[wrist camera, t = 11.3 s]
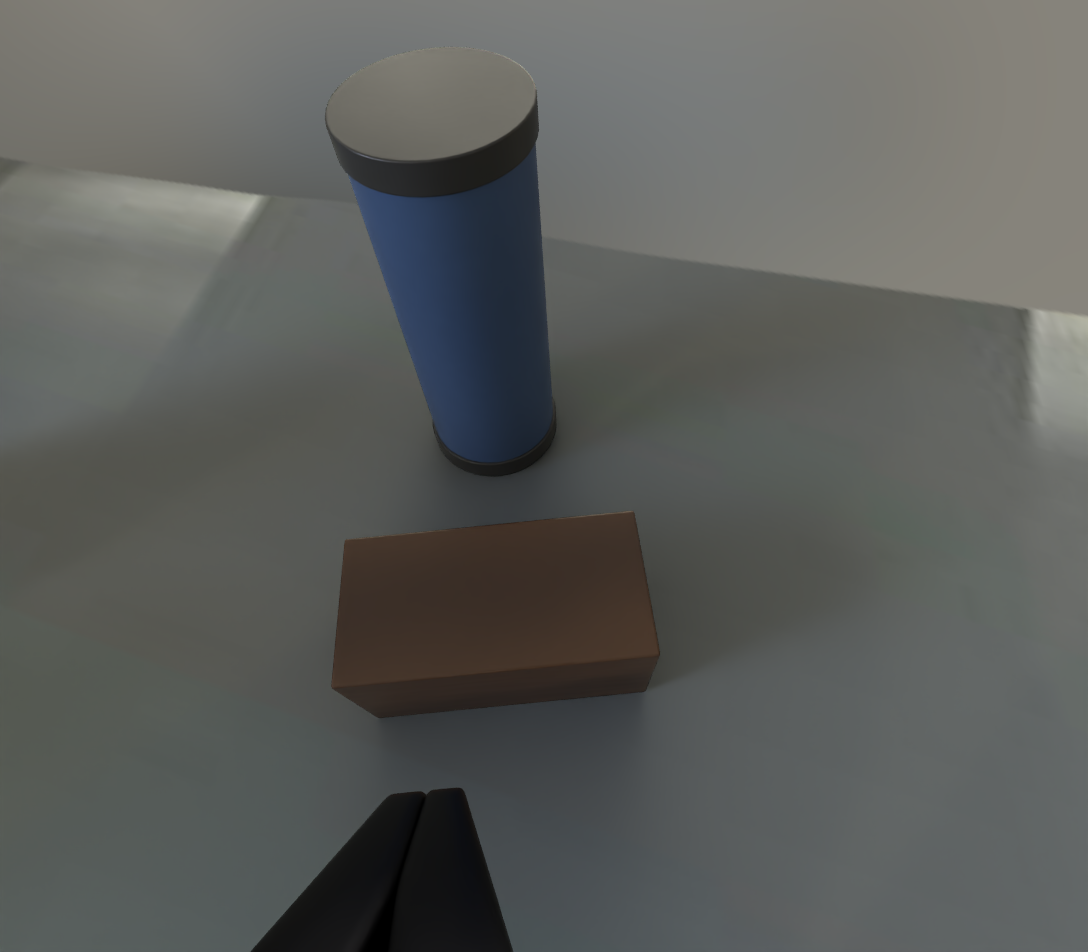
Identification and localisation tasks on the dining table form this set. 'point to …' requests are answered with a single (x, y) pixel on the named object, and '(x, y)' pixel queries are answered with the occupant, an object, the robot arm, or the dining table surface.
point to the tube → (458, 240)
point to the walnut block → (494, 616)
